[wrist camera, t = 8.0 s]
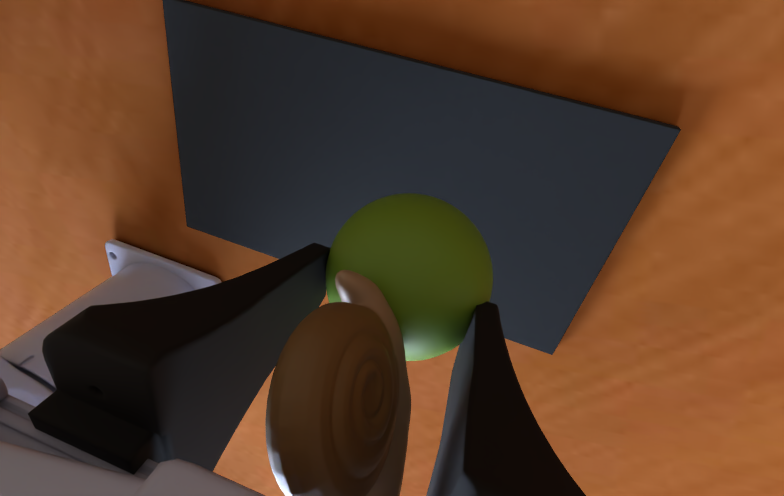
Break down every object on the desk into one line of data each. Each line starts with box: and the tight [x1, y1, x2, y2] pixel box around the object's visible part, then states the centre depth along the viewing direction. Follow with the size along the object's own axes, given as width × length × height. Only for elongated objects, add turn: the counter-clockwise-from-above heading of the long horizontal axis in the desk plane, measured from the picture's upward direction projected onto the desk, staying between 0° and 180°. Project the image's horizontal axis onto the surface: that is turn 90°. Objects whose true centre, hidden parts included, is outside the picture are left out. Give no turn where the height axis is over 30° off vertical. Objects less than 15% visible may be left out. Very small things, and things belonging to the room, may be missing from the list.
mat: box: [163, 0, 681, 355], centre depth 19 cm, size 11×20×1 cm, turn 79°
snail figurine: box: [266, 193, 493, 496], centre depth 12 cm, size 5×6×12 cm
